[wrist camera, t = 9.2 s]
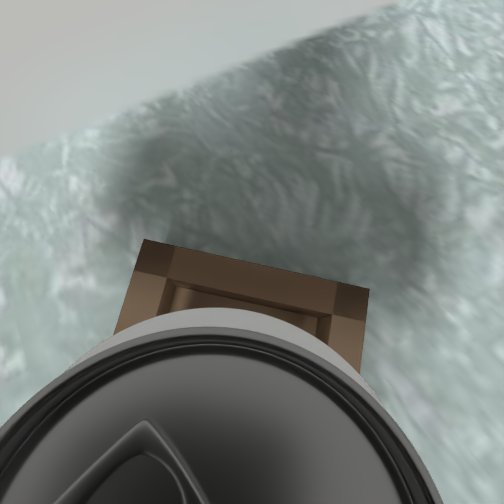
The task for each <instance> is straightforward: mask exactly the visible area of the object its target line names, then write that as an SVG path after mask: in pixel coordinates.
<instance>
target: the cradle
mask: <svg viewBox="0 0 504 504" xmlns="http://www.w3.org/2000/svg"><path fill="white" fill-rule="evenodd" d="M368 298H369V289H368V288H363V287H359V286H354V285H350V284H345V283H341V282H336V281H332V280H327V279H323V278H318V277H314V276H309V275H305V274H300V273H296V272H291V271H286V270H282V269H277V268H273V267H268V266H264V265H259V264H255V263H250V262H246V261H241V260H237V259H232V258H228V257H223V256H219V255H214V254H210V253H205V252H201V251H196V250H192V249H187V248H183V247H178V246H174V245H169V244H165V243H160V242H156V241H151V240H147V239H144V240H143V243H142V246H141V249H140V252H139V256H138V259H137V262H136V265H135V268H134V271H133V274H132V278H131V281H130V284H129V287H128V290H127V293H126V297H125V300H124V303H123V306H122V309H121V312H120V315H119V319H118V322H117V325H116V328H115V331H114V334H113V335H115V334H117V333H119V332H120V331H122V330H124V329H126V328H128V327H131V326H133V325H135V324H137V323H140V322H143V321H145V320H148V319H151V318H154V317H157V316H160V315H164V314H168V313H172V312H177V311H182V310H189V309H197V308H233V309H241V310H248V311H252V312H257V313H261V314H265V315H268V316H271V317H274V318H277V319H280V320H282V321H285V322H287V323H289V324H292V325H294V326H296V327H298V328H300V329H302V330H304V331H306V332H307V333H309V334H311V335H312V336H314V337H316V338H317V339H319V340H320V341H322V342H323V343H325V344H326V345H327V346H329V347H330V348H331V349H333V350H334V351H335V352H336V353H338V354H339V355H340V356H341V357H342V358H343V359H344V360H345V361H347V362H348V363H349V364H350V365H351V366H352V367H353V368H354V369H355V370H356V372H357V373H358V374H360V366H361V357H362V349H363V340H364V332H365V323H366V315H367V306H368Z"/></svg>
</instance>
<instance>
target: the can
mask: <svg viewBox="0 0 504 504" xmlns="http://www.w3.org/2000/svg"><path fill="white" fill-rule="evenodd" d="M0 504H444V503H443V501H442V499H441V496H440V494H439V492H438V490H437V488H436V486H435V484H434V482H433V480H432V478H431V476H430V474H429V472H428V470H427V468H426V466H425V465H424V463H423V461H422V460H421V458H420V456H419V455H418V453H417V451H416V450H415V448H414V447H413V445H412V444H411V442H410V441H409V439H408V438H407V437H406V435H405V434H404V432H403V431H402V430H401V428H400V427H399V426H398V424H397V423H396V422H395V421H394V419H393V418H392V417H391V416H390V415H389V414H388V412H387V411H386V410H385V408H384V407H383V405H382V403H381V402H380V400H379V399H378V398H377V396H376V395H375V393H374V392H373V391H372V389H371V388H370V387H369V385H368V384H367V383H366V382H365V381H364V379H363V378H362V377H361V376H360V375H359V374H358V373H357V372H356V370H355V369H354V368H353V367H352V366H351V365H350V364H349V363H348V362H347V361H345V360H344V359H343V358H342V357H341V356H340V355H339V354H338V353H336V352H335V351H334V350H333V349H331V348H330V347H329V346H327V345H326V344H325V343H323V342H322V341H320V340H319V339H317V338H316V337H314V336H312V335H311V334H309V333H307V332H306V331H304V330H302V329H300V328H298V327H296V326H294V325H292V324H289V323H287V322H285V321H282V320H280V319H277V318H274V317H271V316H268V315H265V314H261V313H257V312H252V311H248V310H241V309H233V308H197V309H189V310H182V311H177V312H172V313H168V314H164V315H160V316H157V317H154V318H151V319H148V320H145V321H143V322H140V323H137V324H135V325H133V326H131V327H128V328H126V329H124V330H122V331H120V332H119V333H117V334H115V335H113V336H111V337H110V338H108V339H106V340H105V341H103V342H102V343H100V344H99V345H97V346H96V347H94V348H93V349H91V350H90V351H89V352H87V353H86V354H85V355H83V356H82V357H81V358H80V359H79V360H77V361H76V362H75V363H74V364H73V365H72V366H70V367H69V368H68V369H67V370H66V371H65V372H64V373H63V374H62V375H60V376H59V377H57V378H56V379H54V380H53V381H52V382H50V383H49V384H48V385H46V386H45V387H44V388H43V389H41V390H40V391H39V392H38V393H37V394H35V395H34V396H33V397H32V398H31V399H30V400H28V401H27V402H26V403H25V404H24V405H23V406H22V407H21V408H20V409H19V410H18V411H17V412H16V413H15V414H13V415H12V416H11V417H10V419H9V420H8V421H7V422H6V423H5V424H4V425H3V426H2V427H1V428H0Z"/></svg>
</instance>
